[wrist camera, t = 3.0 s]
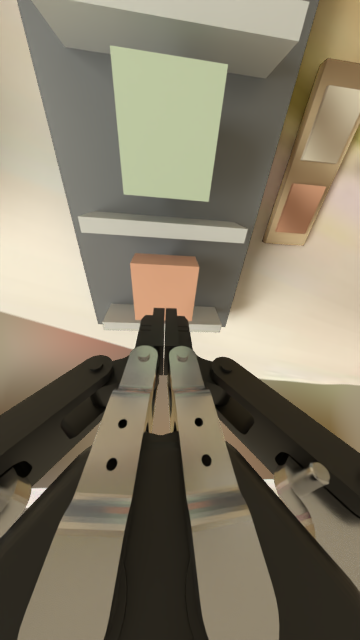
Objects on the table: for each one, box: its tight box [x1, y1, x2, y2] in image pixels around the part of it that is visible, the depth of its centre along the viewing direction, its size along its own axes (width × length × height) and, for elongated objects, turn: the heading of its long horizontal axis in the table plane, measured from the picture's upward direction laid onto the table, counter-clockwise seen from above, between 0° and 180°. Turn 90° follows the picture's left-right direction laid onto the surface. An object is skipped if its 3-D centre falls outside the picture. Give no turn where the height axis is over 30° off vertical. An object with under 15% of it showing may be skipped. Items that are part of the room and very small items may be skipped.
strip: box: [263, 58, 360, 246], centre depth 16 cm, size 12×4×1 cm, turn 176°
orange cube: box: [130, 253, 199, 321], centre depth 16 cm, size 5×5×5 cm
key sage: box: [110, 45, 228, 202], centre depth 11 cm, size 5×5×5 cm
